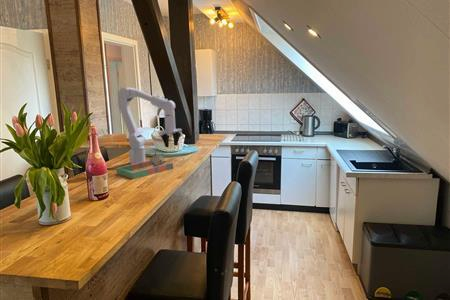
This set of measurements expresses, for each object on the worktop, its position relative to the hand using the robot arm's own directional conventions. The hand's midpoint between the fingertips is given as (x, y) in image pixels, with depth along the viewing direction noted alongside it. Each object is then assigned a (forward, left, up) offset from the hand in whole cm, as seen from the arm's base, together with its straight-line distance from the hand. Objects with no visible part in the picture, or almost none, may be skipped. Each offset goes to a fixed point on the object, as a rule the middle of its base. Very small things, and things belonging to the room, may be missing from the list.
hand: (171, 146), depth 188 cm
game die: (0, -10, -11) cm, 15 cm away
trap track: (0, -18, -10) cm, 21 cm away
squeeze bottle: (-12, -41, -11) cm, 44 cm away
